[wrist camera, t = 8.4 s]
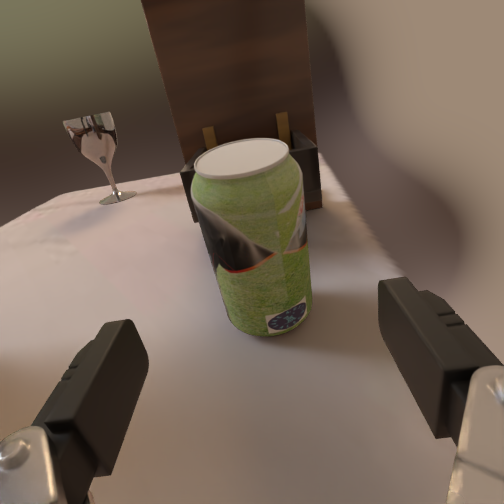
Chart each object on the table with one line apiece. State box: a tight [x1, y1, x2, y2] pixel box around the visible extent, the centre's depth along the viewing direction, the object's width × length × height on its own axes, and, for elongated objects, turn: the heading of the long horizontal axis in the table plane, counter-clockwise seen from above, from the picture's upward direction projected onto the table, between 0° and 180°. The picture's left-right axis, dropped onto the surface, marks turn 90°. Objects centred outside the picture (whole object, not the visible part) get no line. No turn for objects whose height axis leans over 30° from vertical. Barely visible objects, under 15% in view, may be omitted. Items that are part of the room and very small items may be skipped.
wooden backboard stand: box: [141, 0, 322, 223], centre depth 33 cm, size 19×15×24 cm
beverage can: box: [191, 138, 312, 336], centre depth 20 cm, size 6×7×12 cm
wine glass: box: [63, 112, 136, 204], centre depth 60 cm, size 8×8×15 cm
